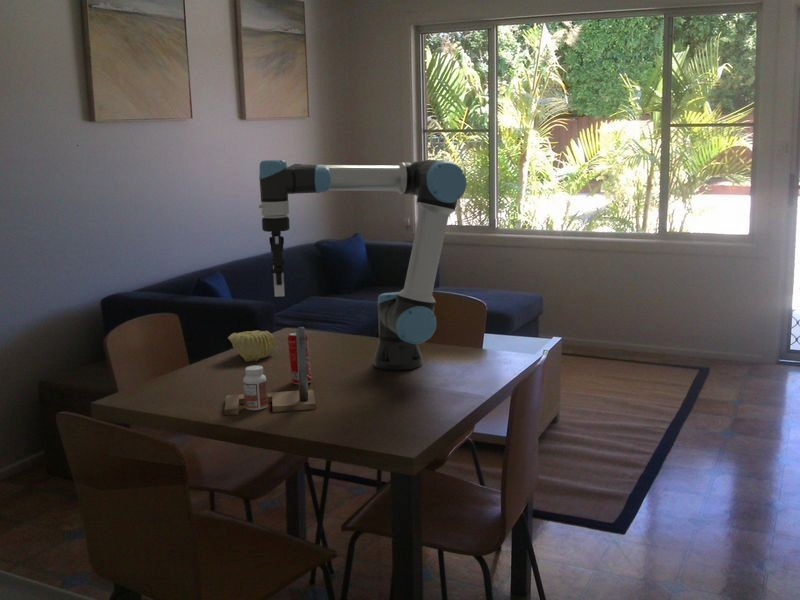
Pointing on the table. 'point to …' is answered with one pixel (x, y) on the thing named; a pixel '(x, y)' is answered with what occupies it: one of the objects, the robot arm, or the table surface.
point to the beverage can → (293, 358)
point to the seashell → (253, 344)
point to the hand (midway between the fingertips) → (279, 292)
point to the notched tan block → (274, 402)
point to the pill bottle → (255, 388)
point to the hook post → (302, 364)
